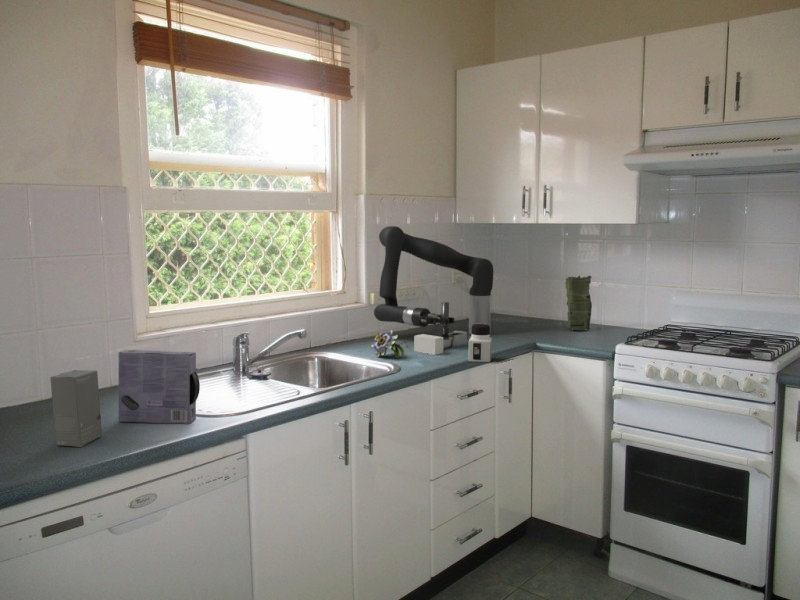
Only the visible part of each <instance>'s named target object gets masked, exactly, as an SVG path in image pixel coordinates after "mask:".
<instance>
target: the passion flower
mask: <svg viewBox="0 0 800 600" xmlns="http://www.w3.org/2000/svg"><path fill="white" fill-rule="evenodd" d="M393 333H394V330H393V329H390V330H389V331H386V332H384V333H377V335H376V336H375V338H374V341H373V343H372V344H371V345H370V347H371V348H374V350H375V355H377V356H376V358H377V357H379V358H381V357H382V356H383V357H384V356H385V355H386V353H387V349H388V350H391V351H393V353H394V357H395V359H397V360H399V359H400V354H401V356H402V357H403V356H404V355H405V350H404V348H403V347H402V346H401V345H402V344H405V345H406V348H408V347H409V344H408V342H407V341H404V342H401V343H399V344H398V343H396V341H395V340H397V339H398V337H399V335H398V334H396V335H395V334H394V335H393Z"/></svg>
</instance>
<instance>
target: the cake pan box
mask: <svg viewBox="0 0 800 600" xmlns="http://www.w3.org/2000/svg"><path fill="white" fill-rule="evenodd" d="M196 367H197V353H196V352H195V351H171V350H170V351H167V350H146V349H145V350H141V349H139V350H138V349H137V350H136V349H124V350H122V351H119V352H118V423H143V424H144V423H145V424H184V425H191V423H193V422H194V421H195V420H196V419H197V399H198V397H199V394H200V390H201V389H200V386H201V385H200V379H199V376H198V372H197V368H196Z"/></svg>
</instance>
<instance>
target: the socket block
mask: <svg viewBox="0 0 800 600" xmlns="http://www.w3.org/2000/svg"><path fill="white" fill-rule="evenodd" d="M413 339H414V340H413V341H414V344H413V345H414V346H413V351H414V352H416V353H421V352H422V353H424V354H427V353H428V354H427V355H434V356H436V354H437V355H441V354H443V353H444V348H443V337H441V336H437V335H430V334H426V333H425V334H424V333H422V334H417V335H414V338H413ZM440 353H441V354H440Z"/></svg>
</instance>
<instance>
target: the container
mask: <svg viewBox="0 0 800 600" xmlns="http://www.w3.org/2000/svg"><path fill="white" fill-rule="evenodd" d="M470 335H471V336H470V337H469V338H468V357H467V358H468V360H467V361H468V362H476V363H477V362H479V363H490V362H491V360H492V351H493V349H492V348H493V338H492V337H490V336H491V333H490V326H489V325H487V324H482V323H477V324H474V325H472V334H470Z"/></svg>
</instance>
